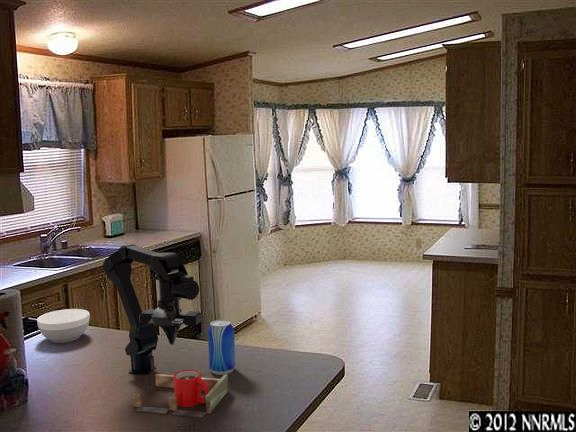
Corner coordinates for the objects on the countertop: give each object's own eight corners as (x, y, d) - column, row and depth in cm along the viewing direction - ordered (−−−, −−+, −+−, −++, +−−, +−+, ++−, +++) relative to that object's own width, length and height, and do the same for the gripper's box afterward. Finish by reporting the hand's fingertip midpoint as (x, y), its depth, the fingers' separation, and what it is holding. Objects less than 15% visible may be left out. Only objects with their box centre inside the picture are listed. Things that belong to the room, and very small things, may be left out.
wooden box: (129, 410, 167) (127, 393, 167) (157, 384, 184) (156, 369, 184) (206, 418, 162) (205, 400, 161) (228, 390, 179) (227, 374, 178)
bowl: (31, 338, 231) (29, 316, 230) (79, 326, 243) (78, 305, 242) (49, 350, 217) (47, 327, 215) (99, 338, 229) (97, 315, 228)
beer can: (231, 376, 189) (229, 327, 187) (205, 375, 191) (203, 326, 189) (238, 366, 197) (237, 319, 195) (214, 364, 199) (212, 318, 197)
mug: (201, 412, 165) (200, 385, 164) (168, 403, 172) (167, 377, 170) (219, 401, 172) (218, 375, 171) (187, 392, 178) (185, 367, 177)
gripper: (128, 301, 177) (131, 351, 179) (187, 303, 173) (189, 355, 175) (146, 291, 188) (149, 339, 190) (201, 293, 183) (204, 342, 186)
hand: (172, 344), depth 185 cm, fingers closed
